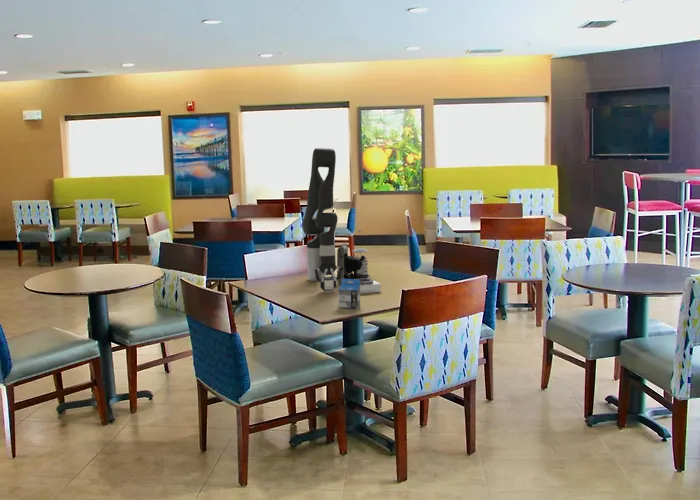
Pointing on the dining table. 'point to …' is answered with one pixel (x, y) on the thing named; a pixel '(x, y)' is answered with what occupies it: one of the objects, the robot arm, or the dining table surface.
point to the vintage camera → (349, 265)
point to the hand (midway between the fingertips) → (328, 288)
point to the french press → (365, 262)
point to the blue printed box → (349, 294)
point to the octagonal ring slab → (369, 286)
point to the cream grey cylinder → (328, 284)
